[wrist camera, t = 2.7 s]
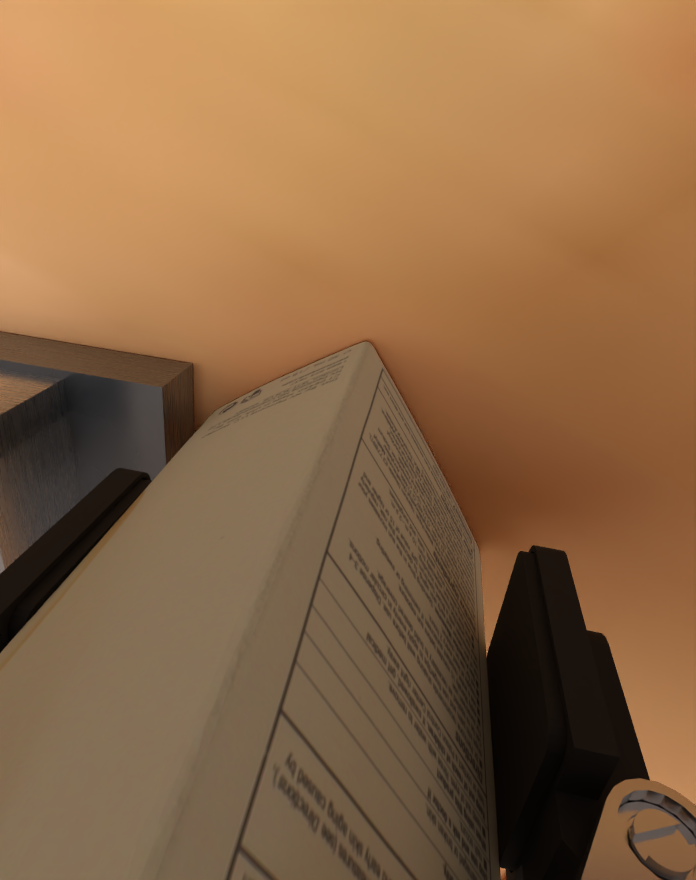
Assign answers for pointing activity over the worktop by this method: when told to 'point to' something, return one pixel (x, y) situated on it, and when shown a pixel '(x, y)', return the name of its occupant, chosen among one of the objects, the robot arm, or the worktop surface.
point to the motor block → (79, 427)
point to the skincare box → (263, 662)
